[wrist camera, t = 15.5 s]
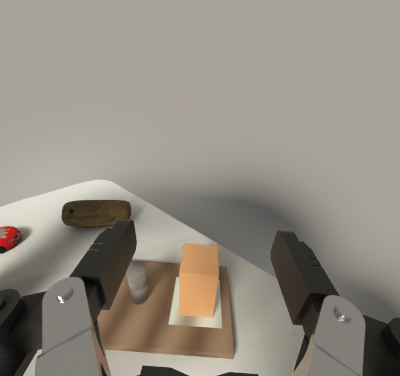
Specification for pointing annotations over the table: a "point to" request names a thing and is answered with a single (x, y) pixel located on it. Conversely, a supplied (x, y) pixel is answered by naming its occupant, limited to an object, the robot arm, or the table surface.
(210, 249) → the tall wooden pillar
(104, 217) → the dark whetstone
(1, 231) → the race car
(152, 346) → the board
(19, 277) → the table surface
